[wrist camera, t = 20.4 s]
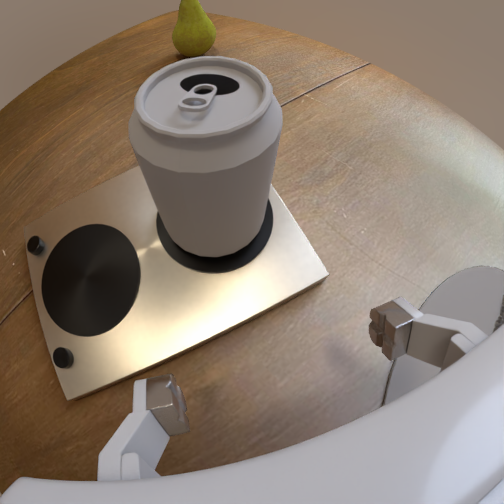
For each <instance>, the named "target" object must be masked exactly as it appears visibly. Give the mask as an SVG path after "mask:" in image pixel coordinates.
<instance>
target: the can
mask: <svg viewBox="0 0 504 504" xmlns="http://www.w3.org/2000/svg"><path fill="white" fill-rule="evenodd" d="M281 130H282V109H281V107H280V105H279V103H278V101H277V99H276V98H275V96H274V95H273V94H272V85H271V84H270V82H269V80H268V79H267V77H266V75H264V74H263V73H262V72H261V71H259V70H258V69H257V68H255V67H254V66H252V65H250V64H248V63H245V62H243V61H240V60H238V59H233V58H227V57H222V56H201V57H195V58H189V59H184V60H181V61H178V62H175V63H172V64H170V65H167V66H165V67H164V68H162V69H160V70H159V71H157V72H155V73H154V74H152V75H151V76H150V77H149V78H148V79H147V80H146V81H145V82H144V83H143V84H142V85H141V86H140V88H139V90H138V92H137V94H136V96H135V98H134V111H133V113H132V116H131V118H130V120H129V140H130V142H131V145H132V148H133V150H134V153H135V156H136V158H137V161H138V163H139V166H140V168H141V171H142V173H143V176H144V178H145V181H146V183H147V186H148V188H149V191H150V193H151V195H152V198H153V200H154V203H155V205H156V207H157V210H158V212H159V214H160V217H161V219H162V221H163V224H164V226H165V228H166V230H167V232H168V233H169V235H170V237H171V238H172V240H173V241H174V242H175V243H176V244H178V245H179V246H180V247H181V248H182V249H184V250H185V251H188V252H190V253H193V254H196V255H198V256H206V257H220V256H224V255H228V254H232V253H235V252H236V251H238V250H240V249H242V248H243V247H245V246H247V245H248V244H249V243H250V242H251V241H252V240H253V238H254V237H255V236H256V235H257V234H258V233H259V230H260V228H261V225H262V223H263V220H264V216H265V211H266V206H267V201H268V196H269V191H270V186H271V181H272V176H273V171H274V166H275V160H276V155H277V150H278V145H279V140H280V135H281Z"/></svg>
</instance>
